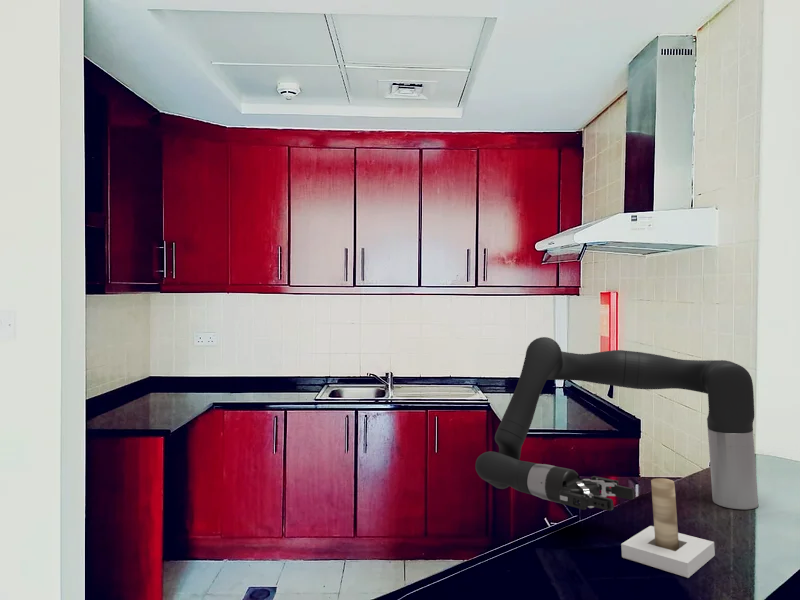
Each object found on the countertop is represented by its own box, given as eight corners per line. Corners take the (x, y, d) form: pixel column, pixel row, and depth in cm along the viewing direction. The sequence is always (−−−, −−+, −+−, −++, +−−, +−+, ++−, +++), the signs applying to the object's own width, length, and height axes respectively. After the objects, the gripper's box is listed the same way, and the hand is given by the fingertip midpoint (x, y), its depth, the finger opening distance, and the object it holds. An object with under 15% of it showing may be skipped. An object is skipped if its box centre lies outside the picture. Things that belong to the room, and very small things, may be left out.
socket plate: (651, 538, 112) (650, 525, 112) (714, 555, 103) (714, 541, 103) (622, 557, 104) (621, 543, 104) (688, 577, 95) (687, 563, 95)
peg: (661, 549, 106) (656, 477, 107) (683, 556, 103) (678, 481, 104) (652, 556, 104) (647, 481, 104) (674, 563, 101) (668, 486, 101)
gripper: (533, 473, 118) (603, 489, 105) (570, 459, 127) (639, 472, 115) (535, 509, 118) (606, 529, 105) (572, 492, 127) (641, 509, 115)
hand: (623, 499), depth 110 cm, fingers open, 8 cm apart
